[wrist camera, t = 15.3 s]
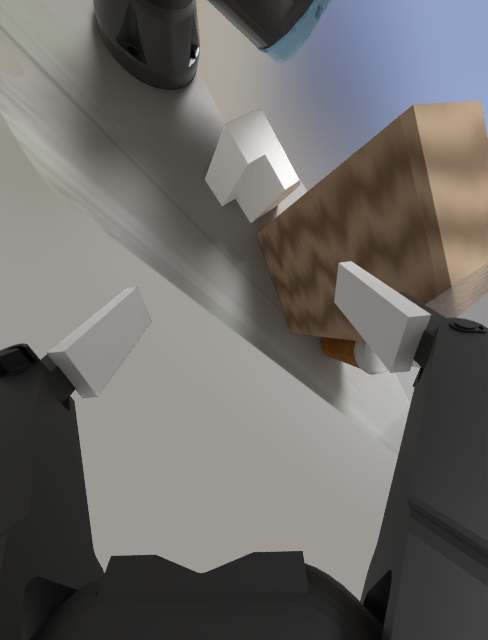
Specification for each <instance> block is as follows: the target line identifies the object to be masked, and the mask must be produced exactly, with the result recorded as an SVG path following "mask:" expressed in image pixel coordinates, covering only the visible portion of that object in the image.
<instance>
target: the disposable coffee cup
mask: <svg viewBox="0 0 488 640" xmlns="http://www.w3.org/2000/svg"><path fill="white" fill-rule="evenodd" d="M322 350H323V352H324V353H325V354H326V355H327V356H330V357H332V358H335V359H337V360H340V361H342V362H345V363H348V364H350V365H352V366H355V367H358V368H360V369H362V370H363V371H364V372H366V373H368V374H377V373H383V372H385V371H387V370H388V369H387V368H386V366H385V365H384V364H383V363H382V361H381V360H380V359H379V358H378V356H377V355H376V354H375V353H374V351H373V350H372V349H371V348H370V346H369V345H368V344H367V343H366V342H363V341H354V340H346V339H337V338H328V337H323V339H322Z"/></svg>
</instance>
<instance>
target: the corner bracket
mask: <svg viewBox="0 0 488 640" xmlns="http://www.w3.org/2000/svg"><path fill="white" fill-rule="evenodd" d="M205 181H206V182H207V184H208V185H209V187H210V188H211V190H212V192H213V193H214V195H215V196H216V198H217V199H218V201H219V202H220V204H221V205H222V206H224V205H226V204H227V203H229V202H230V201H232V200H234V199H236V201H237V202H238V204H239V205H240V207H241V209H242V210H243V212H244V213H245V215H246V217H247V218H248V220H249V221H250V223H252V222H254V221H255V220H257V219H258V218H259V217H261V216H262V215H264V214H265V213H267V212H268V211H270V210H271V209H273V208H274V207H276V206H277V205H278V204H280V203H281V202H282V201H283V200H284V199H285V198H286V197H287V196H288V195H289V194H290V193H292V192H293V191H294V190H295V189H296V188H297V187H298V186H299V185H300V180H299V178H298V176H297V175H296V173H295V171H294V169H293V167H292V165H291V163H290V161H289V159H288V158H287V156H286V154H285V152H284V150H283V148H282V147H281V144H280V143H279V141H278V139H277V137H276V136H275V133H274V131H273V129H272V127H271V126H270V124H269V122H268V120H267V118H266V116H265V114H264V112H263V111H262V109H261V108H259V109H257V110H255V111H252V112H251V113H248V114H246V115H244V116H241V117H239V118H237V119H235V120H233V121H230V122H228V123H226V124H225V125H224V128H223V131H222V133H221V136H220V139H219V142H218V144H217V147H216V150H215V153H214V155H213V158H212V161H211V164H210V166H209V169H208V172H207V175H206V178H205Z"/></svg>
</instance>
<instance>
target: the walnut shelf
mask: <svg viewBox="0 0 488 640" xmlns="http://www.w3.org/2000/svg"><path fill="white" fill-rule="evenodd" d="M257 237H258V240H259V243H260V246H261V248H262V251H263V254H264V257H265V260H266V263H267V265H268V268H269V271H270V274H271V277H272V279H273V282H274V285H275V288H276V291H277V293H278V296H279V299H280V302H281V305H282V308H283V310H284V313H285V316H286V319H287V322H288V324H289V327H290V330H291V333H293V334H302V335H310V336H319V337H328V338H337V339H346V340H354V341H363V342H366V341H365V340H364V339H363V338H362V336H361V335H360V334H359V333H358V331H357V330H356V329H355V327H354V326H353V325H352V324H351V322H350V321H349V320H348V319H347V317H346V316H345V315H344V314H343V312H342V311H341V310H340V309H339V307H338V306H337V305H336V304H335V302H334V300H335V291H336V282H337V273H338V263H341V262H349V261H352V262H353V263H355V264H356V265H358V266H359V267H361V268H362V269H364V270H365V271H367V272H368V273H370V274H371V275H373V276H374V277H376V278H377V279H379V280H380V281H382V282H383V283H385V284H386V285H388V286H389V287H391V288H392V289H394V290H395V291H397V292H402V293H405V294H408V295H411V296H412V297H414V298H415V299H417V300H419V302H422V303H423V304H425V305H426V304H427V303H429V302H430V301H431V300H433V299H434V298H436V297H437V296H439V295H440V294H442V293H443V292H445V291H446V290H448V289H449V288H451V287H452V286H453V285H455V284H456V283H458V282H459V281H461V280H462V279H464V278H465V277H467V276H468V275H470V274H471V273H473V272H474V271H475V270H477V269H478V268H480V267H481V266H483V265H484V264H486V263H487V262H488V138H487V132H486V126H485V120H484V114H483V108H482V102H481V101H470V102H454V103H436V104H419V105H412V106H411V107H410V108H409V109H408V110H406V111H405V112H404V113H403V114H401V115H400V116H399V117H398V118H397V119H395V120H394V121H393V122H392V123H390V124H389V125H388V126H387V127H386V128H385V129H383V130H382V131H381V132H380V133H378V134H377V135H376V136H375V137H373V138H372V139H371V140H370V141H369V142H367V143H366V144H365V145H364V146H363V147H362V148H360V149H359V150H358V151H356V152H355V153H354V154H353V155H352V156H350V157H349V158H348V159H347V160H346V161H344V162H343V163H342V164H341V165H340V166H338V167H337V168H336V169H335V170H333V171H332V172H331V173H330V174H329V175H327V176H326V177H325V178H324V179H322V180H321V181H320V182H319V183H318V184H316V185H315V186H314V187H313V188H312V189H310V190H309V191H308V192H307V193H305V194H304V195H303V196H302V197H301V198H299V199H298V200H297V201H296V202H295V203H293V204H292V205H291V206H290V207H288V208H287V209H286V210H285V211H284V212H282V213H281V214H280V215H279V216H278V217H276V218H275V219H274V220H273V221H271V222H270V223H269V224H268V225H267V226H265V227H264V228H263V229H262V230H261V231H259V232H258V233H257Z"/></svg>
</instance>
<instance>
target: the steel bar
mask: <svg viewBox="0 0 488 640" xmlns="http://www.w3.org/2000/svg"><path fill="white" fill-rule="evenodd" d="M425 306H428V307H430V308H431V309H433V310H434V311H436V312H438V313H439V314H441V315H442V316H444V317H445V318H462V319H467V320H471V321H475V322H477V323H480V324H482V325H484V326H485V327H487V328H488V262H487V263H486V264H484V265H483V266H481V267H480V268H478V269H477V270H475V271H474V272H473V273H471V274H470V275H468V276H467V277H465V278H464V279H462V280H461V281H459V282H458V283H456V284H455V285H453V286H452V287H451V288H449V289H448V290H446V291H445V292H443V293H442V294H440V295H439V296H437V297H436V298H434V299H433V300H431V301H430V302H429V303H427V304H426V305H425ZM412 366H413V367H418V368H420V367H421V366H420V365H419V364H418V363H417V362H416V361H415V360H414V361H413V363H412Z"/></svg>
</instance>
